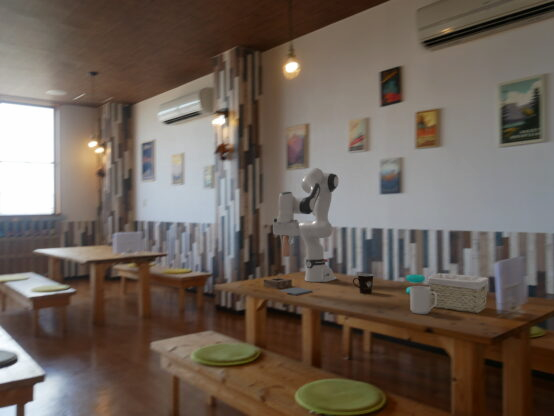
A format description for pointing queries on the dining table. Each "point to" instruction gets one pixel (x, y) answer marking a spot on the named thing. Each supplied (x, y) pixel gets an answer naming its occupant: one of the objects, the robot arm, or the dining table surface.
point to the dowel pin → (286, 246)
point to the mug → (421, 299)
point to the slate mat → (296, 291)
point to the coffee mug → (365, 283)
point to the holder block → (277, 283)
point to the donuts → (414, 280)
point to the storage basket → (458, 292)
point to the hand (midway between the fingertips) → (286, 243)
